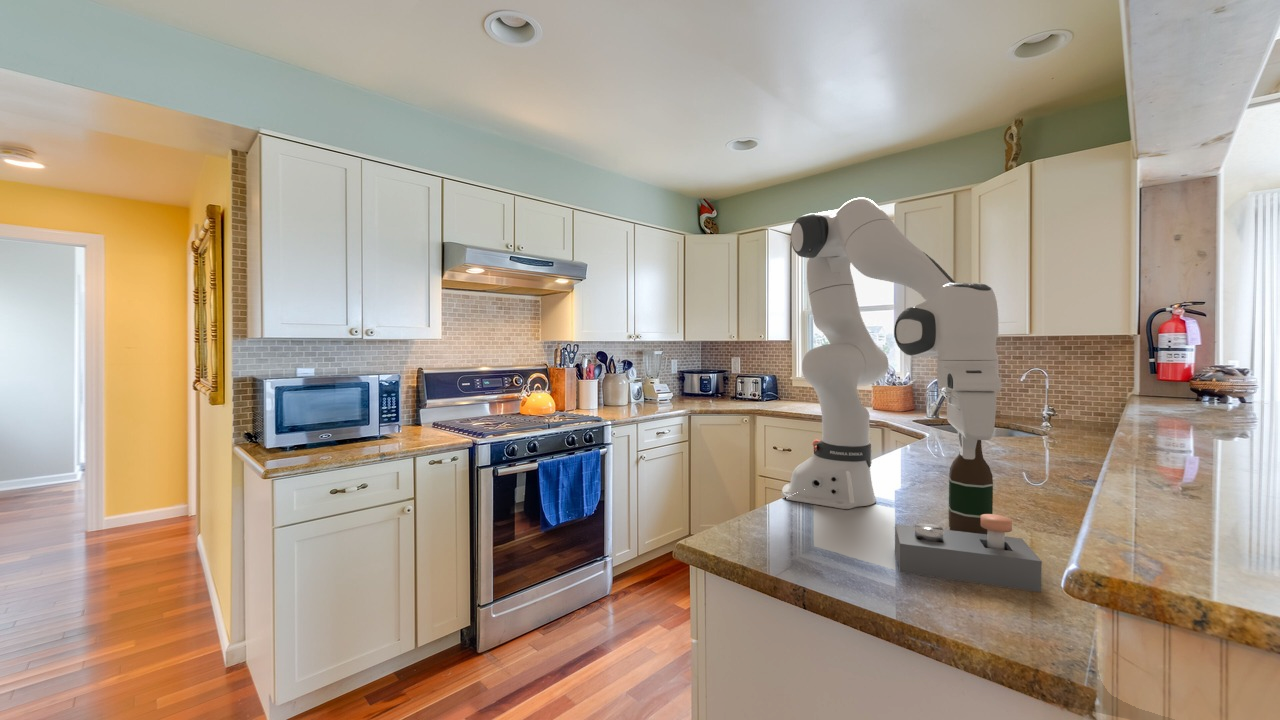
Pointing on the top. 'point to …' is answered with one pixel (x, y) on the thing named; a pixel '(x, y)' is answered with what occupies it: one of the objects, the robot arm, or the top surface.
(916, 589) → the top surface
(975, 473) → the beer bottle
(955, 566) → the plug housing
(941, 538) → the grey mushroom plug
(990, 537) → the mushroom push button
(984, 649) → the top surface
